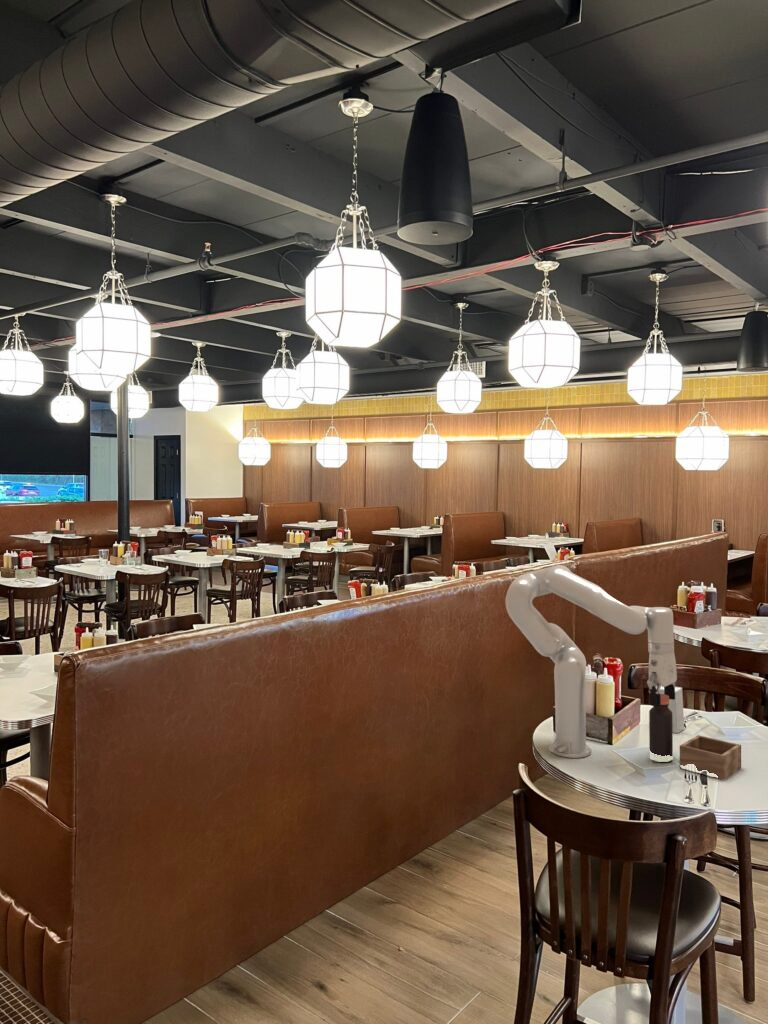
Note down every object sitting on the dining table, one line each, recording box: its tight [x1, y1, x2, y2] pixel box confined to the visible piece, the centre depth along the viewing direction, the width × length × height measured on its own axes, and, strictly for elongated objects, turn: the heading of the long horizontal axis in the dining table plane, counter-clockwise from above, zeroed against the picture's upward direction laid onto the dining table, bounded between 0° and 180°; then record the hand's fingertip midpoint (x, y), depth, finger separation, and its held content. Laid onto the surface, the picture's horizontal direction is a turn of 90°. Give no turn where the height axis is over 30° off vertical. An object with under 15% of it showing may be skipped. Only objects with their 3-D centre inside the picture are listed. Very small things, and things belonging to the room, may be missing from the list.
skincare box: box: [655, 686, 685, 734], centre depth 260 cm, size 8×6×15 cm
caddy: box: [679, 734, 742, 781], centre depth 224 cm, size 13×13×7 cm
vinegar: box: [648, 694, 674, 757], centre depth 232 cm, size 7×7×20 cm
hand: (662, 702), depth 232 cm, fingers open, 9 cm apart
